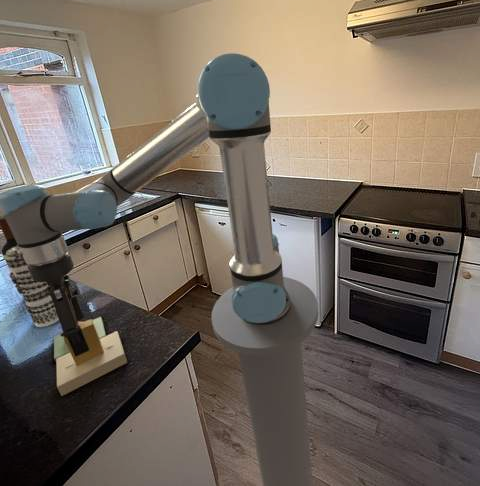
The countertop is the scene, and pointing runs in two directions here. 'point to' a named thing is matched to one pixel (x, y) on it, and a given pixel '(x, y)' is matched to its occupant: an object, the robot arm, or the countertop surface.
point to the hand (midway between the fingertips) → (80, 335)
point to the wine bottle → (7, 236)
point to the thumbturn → (91, 340)
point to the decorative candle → (31, 290)
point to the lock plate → (89, 365)
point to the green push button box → (62, 347)
